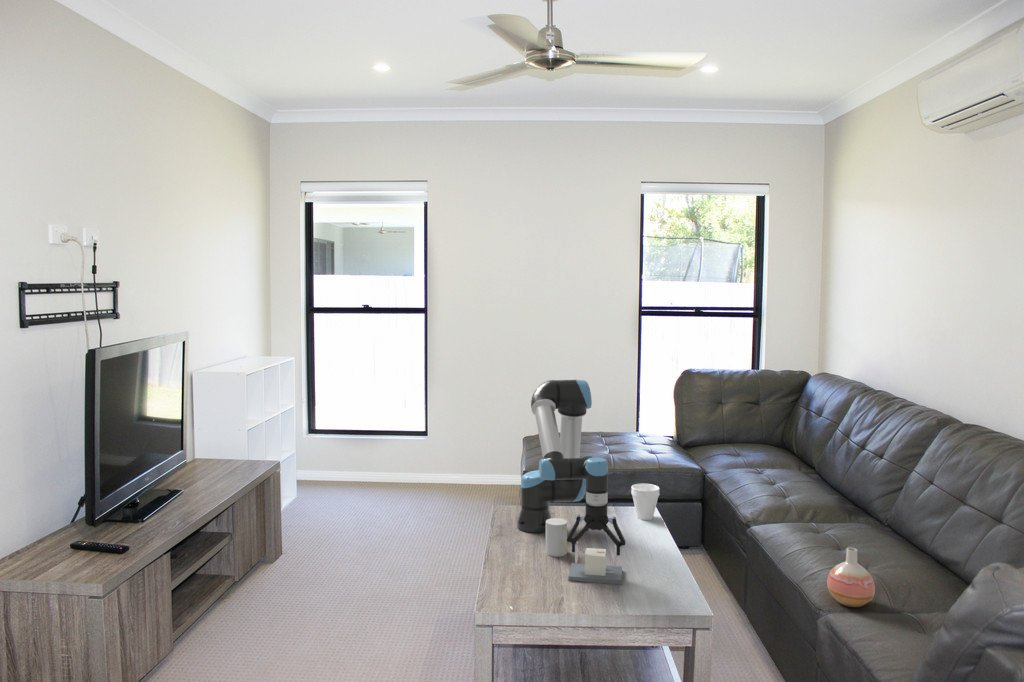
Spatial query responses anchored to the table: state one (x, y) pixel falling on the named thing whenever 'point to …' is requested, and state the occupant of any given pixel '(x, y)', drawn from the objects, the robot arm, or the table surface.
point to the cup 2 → (645, 500)
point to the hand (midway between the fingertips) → (595, 562)
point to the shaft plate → (610, 577)
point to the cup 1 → (556, 537)
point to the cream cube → (595, 561)
